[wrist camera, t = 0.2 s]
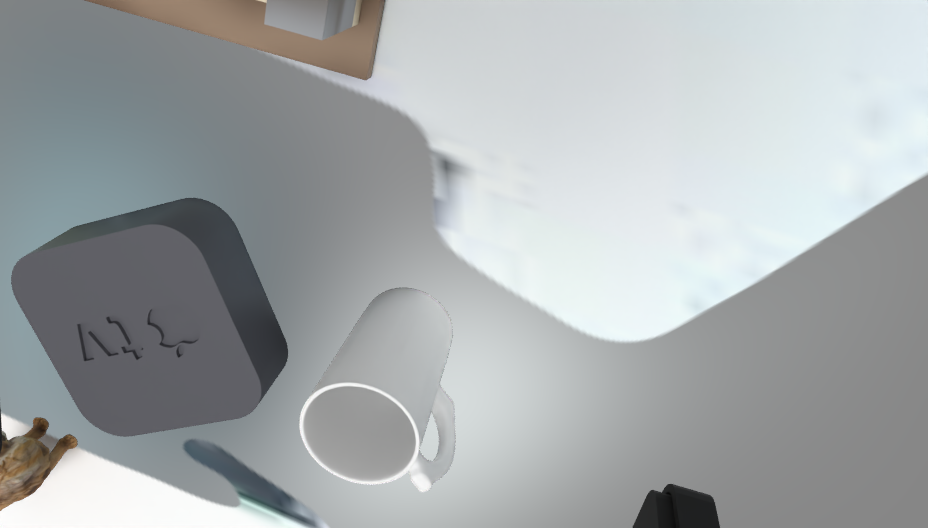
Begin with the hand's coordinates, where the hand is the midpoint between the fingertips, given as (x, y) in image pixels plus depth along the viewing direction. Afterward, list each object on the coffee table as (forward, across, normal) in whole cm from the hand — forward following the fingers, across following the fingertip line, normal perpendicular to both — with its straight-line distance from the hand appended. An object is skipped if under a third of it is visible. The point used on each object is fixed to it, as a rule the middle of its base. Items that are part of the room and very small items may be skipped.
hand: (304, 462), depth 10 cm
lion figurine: (+36, +31, +40) cm, 63 cm away
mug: (+36, +2, +21) cm, 42 cm away
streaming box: (+37, +20, +23) cm, 48 cm away
